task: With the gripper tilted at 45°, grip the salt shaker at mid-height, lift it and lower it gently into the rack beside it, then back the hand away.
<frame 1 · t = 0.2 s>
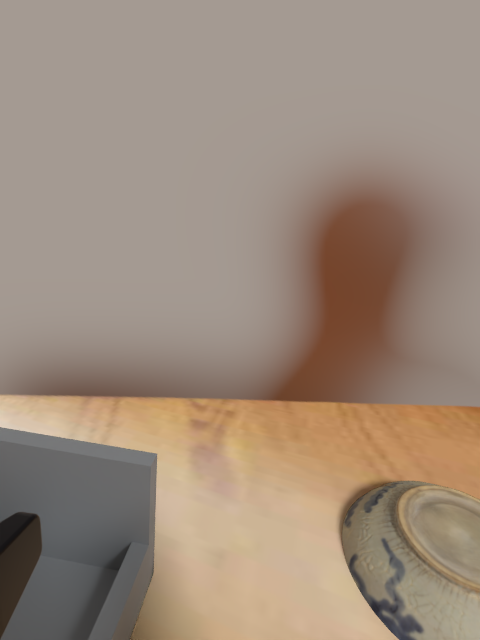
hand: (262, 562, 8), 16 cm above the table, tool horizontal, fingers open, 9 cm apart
decorative bowl: (448, 572, 27), on the table
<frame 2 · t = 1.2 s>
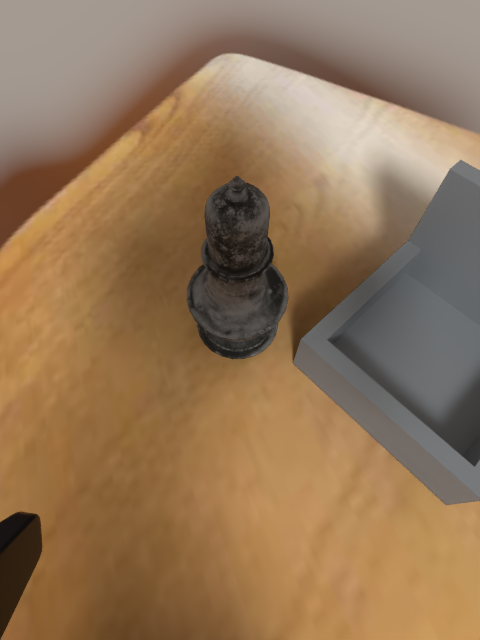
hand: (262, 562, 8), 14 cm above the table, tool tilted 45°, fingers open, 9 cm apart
salt shaker: (237, 323, 26), on the table
shaker rack: (418, 366, 24), on the table
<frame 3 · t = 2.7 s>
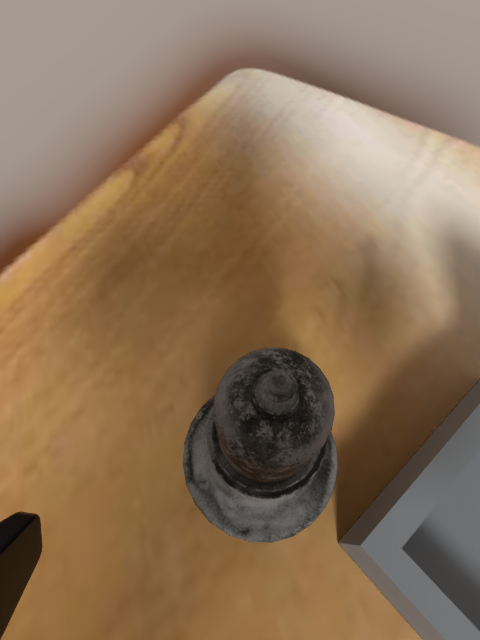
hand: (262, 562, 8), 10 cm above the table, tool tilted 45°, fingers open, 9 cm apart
salt shaker: (256, 467, 18), on the table
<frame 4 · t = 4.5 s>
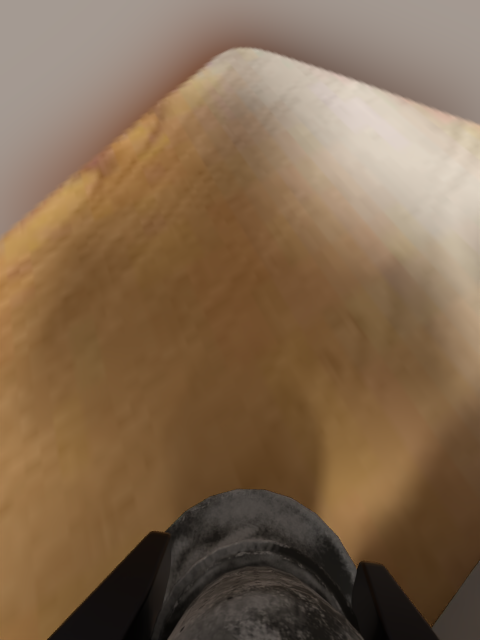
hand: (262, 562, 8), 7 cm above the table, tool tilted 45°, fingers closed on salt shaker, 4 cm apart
salt shaker: (247, 594, 13), on the table, touching gripper
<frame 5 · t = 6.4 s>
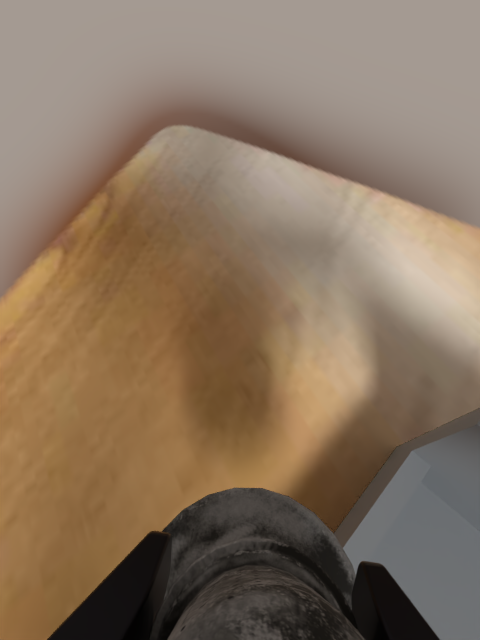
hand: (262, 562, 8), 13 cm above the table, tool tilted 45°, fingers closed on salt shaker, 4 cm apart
salt shaker: (244, 592, 13), point 6 cm above the table, touching gripper
shaker rack: (433, 624, 18), on the table
when the fingers open (9 cm above the table, at t = 8.4 s): salt shaker drops 1 cm, resting on shaker rack.
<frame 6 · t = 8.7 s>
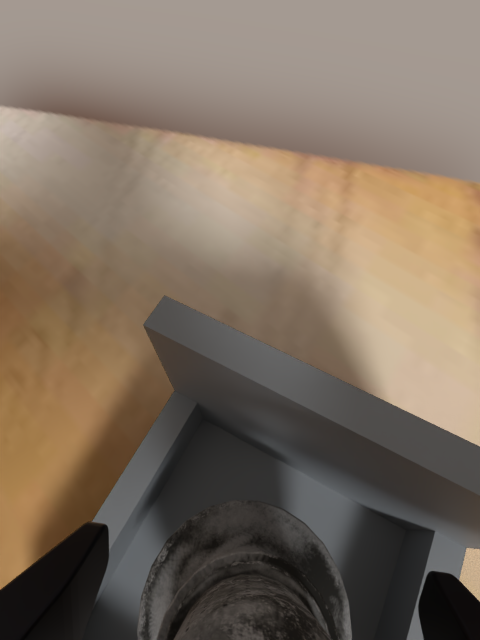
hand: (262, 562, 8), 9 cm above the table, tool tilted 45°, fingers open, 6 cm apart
salt shaker: (242, 593, 14), point 1 cm above the table, touching shaker rack
shaker rack: (246, 584, 15), on the table
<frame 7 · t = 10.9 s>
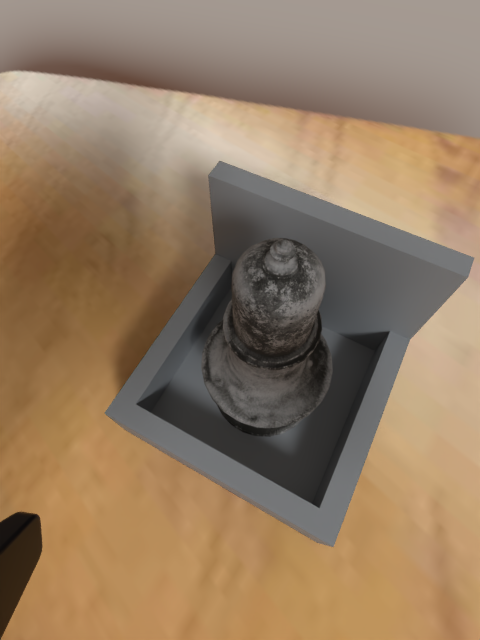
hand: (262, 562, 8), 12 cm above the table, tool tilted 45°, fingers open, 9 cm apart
salt shaker: (262, 386, 21), point 1 cm above the table, touching shaker rack
shaker rack: (264, 388, 22), on the table
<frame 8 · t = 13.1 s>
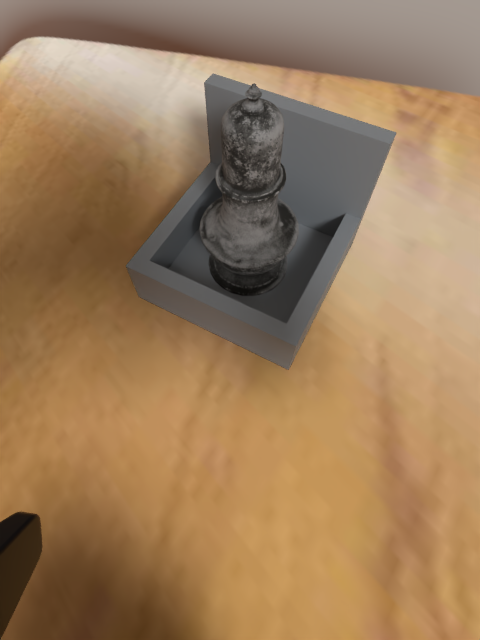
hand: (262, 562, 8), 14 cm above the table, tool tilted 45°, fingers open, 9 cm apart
salt shaker: (248, 264, 26), point 1 cm above the table, touching shaker rack
shaker rack: (249, 268, 27), on the table
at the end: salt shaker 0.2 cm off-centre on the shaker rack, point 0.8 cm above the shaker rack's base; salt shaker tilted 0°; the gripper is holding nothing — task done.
